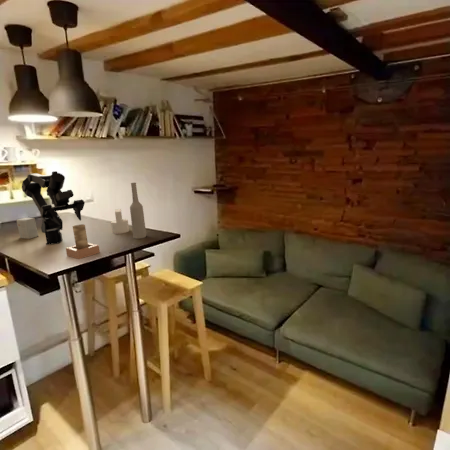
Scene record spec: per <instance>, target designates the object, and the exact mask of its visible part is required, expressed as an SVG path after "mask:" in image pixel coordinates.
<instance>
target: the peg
mask: <svg viewBox="0 0 450 450" xmlns="http://www.w3.org/2000/svg"><path fill="white" fill-rule="evenodd" d="M72 230H73V237H74V243H75V245H76V249H79V250H80V249H83V248H87V247H88V243H89V242H88V237H87V228H86V224H76V225H73V226H72Z"/></svg>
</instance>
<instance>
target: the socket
mask: <svg viewBox="0 0 450 450" xmlns="http://www.w3.org/2000/svg"><path fill="white" fill-rule="evenodd" d="M100 250H101V249H100V245H99V244H95V243H91V242H88V247H87V248H83V249H80V250H79V249H76V244H74V245H72V246H69V247H66V248H65V254H66V256H67V257H71V258H74V259H77V260H80V259H83V258H86V257H87V258H88V257H90V256H93V255H96V254H100V252H101V251H100Z"/></svg>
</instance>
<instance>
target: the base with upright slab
mask: <svg viewBox="0 0 450 450" xmlns="http://www.w3.org/2000/svg"><path fill="white" fill-rule="evenodd" d="M114 215H115V220H112V221H110V224H111V225H110V226H111V232H112V234H114V235H115V234H116V235H117V234H118V235H119V234H125V233H128V232H130V228H129V227H130V226H129V220H128V219H126V218H123V215H122V208H118V209H114Z"/></svg>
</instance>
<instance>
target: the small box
mask: <svg viewBox="0 0 450 450" xmlns="http://www.w3.org/2000/svg"><path fill="white" fill-rule="evenodd" d="M16 225H17V229H18V234H19V239H28V240H31V239H34V238H36V237H38V236H39V232H38V229H37V223H36V219H35V217H22V218H18V219H16Z"/></svg>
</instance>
